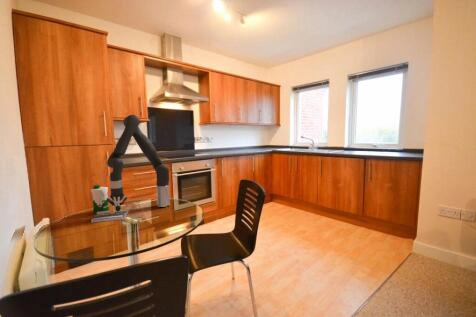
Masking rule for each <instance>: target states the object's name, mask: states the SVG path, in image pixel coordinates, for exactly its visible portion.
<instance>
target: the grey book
mask: <svg viewBox="0 0 476 317" xmlns="http://www.w3.org/2000/svg"><path fill="white" fill-rule="evenodd" d="M127 210H128V209H127V208H125V209H120V211H116V209H114V213H116V212H126V211H127ZM105 213H110V210H109V211H102V212H97V214H105ZM123 216H124V214H117V215H107V216H97V217H95V216H93V217H92V218H91V220H92V219H93V220H98V219H108V218H118V217H123Z"/></svg>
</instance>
